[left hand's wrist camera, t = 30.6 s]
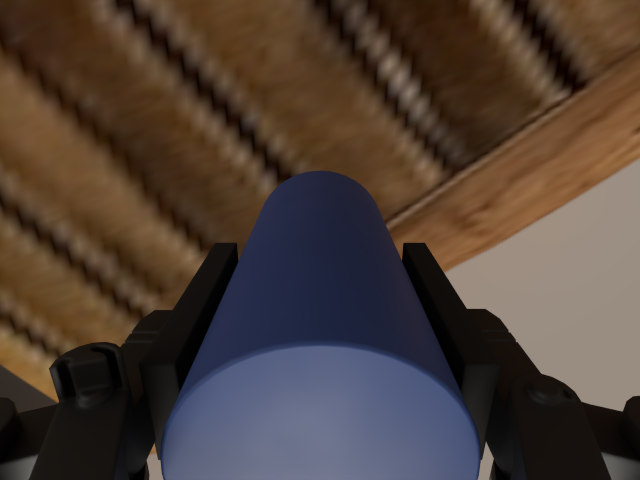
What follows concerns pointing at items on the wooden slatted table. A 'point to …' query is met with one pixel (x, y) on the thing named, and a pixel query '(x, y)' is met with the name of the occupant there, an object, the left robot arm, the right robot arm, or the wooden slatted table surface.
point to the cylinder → (320, 357)
